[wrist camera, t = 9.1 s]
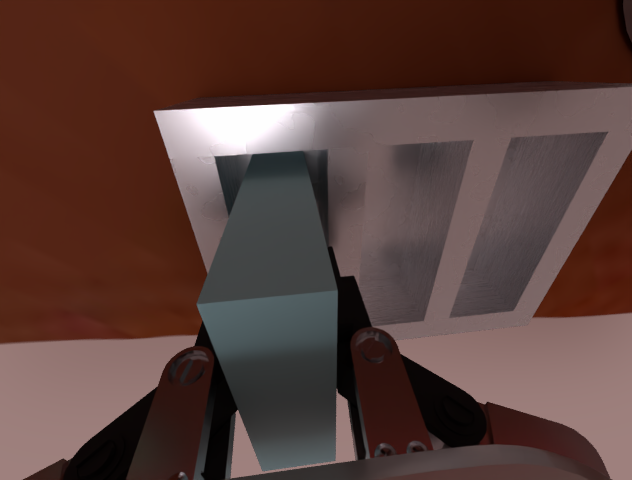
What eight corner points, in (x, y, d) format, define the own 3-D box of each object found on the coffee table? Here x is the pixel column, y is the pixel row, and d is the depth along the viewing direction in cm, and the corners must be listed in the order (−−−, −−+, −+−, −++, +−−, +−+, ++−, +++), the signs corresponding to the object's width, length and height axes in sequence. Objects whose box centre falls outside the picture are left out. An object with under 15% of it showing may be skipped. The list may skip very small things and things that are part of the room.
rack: (551, 81, 14) (680, 85, 9) (477, 275, 21) (529, 331, 16) (197, 98, 12) (149, 111, 8) (246, 299, 20) (235, 365, 15)
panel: (303, 150, 13) (338, 290, 5) (310, 274, 18) (335, 460, 9) (252, 154, 13) (196, 303, 5) (272, 277, 17) (262, 471, 9)
